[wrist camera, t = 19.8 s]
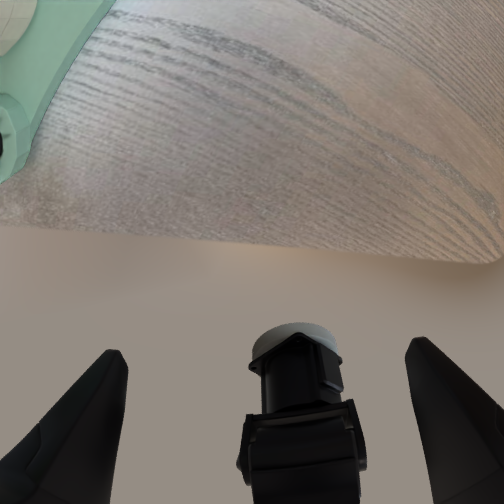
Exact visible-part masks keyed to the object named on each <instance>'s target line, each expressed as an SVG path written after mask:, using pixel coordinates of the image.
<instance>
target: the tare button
mask: <svg viewBox="0 0 504 504" xmlns="http://www.w3.org/2000/svg"><path fill="white" fill-rule="evenodd" d="M2 150H3V139H2V135H1V132H0V156H1V154H2Z"/></svg>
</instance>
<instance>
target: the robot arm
mask: <svg viewBox="0 0 504 504" xmlns="http://www.w3.org/2000/svg"><path fill="white" fill-rule="evenodd" d="M405 363H406V369H407V374H408V381H409V387H410V393H411V399H412V404H413V408H414V412H415V416H416V420H417V424H418V428H419V432H420V437H421V441H422V445H423V450H424V454H425V459H426V464H427V469H428V474H429V480H430V485H431V491H432V497H433V503H434V504H504V409H502V407H501V406H500V405H498V404H497V403H496V402H495V401H494V400H493V399H492V398H491V397H490V396H489V395H488V394H487V393H486V392H485V391H484V390H483V389H482V388H481V387H480V386H479V385H478V384H476V383H475V382H474V381H473V380H472V379H471V378H470V377H469V376H468V375H467V374H466V373H465V372H464V371H462V370H461V368H459V367H458V366H457V365H456V364H455V363H454V362H453V361H452V360H451V359H450V358H449V357H447V356H446V355H445V354H444V353H443V352H442V351H441V350H440V349H439V348H438V347H436V346H435V345H434V344H433V343H432V342H431V341H430V340H429V339H428V338H426V337H416V338H413V339H412V341H411V343H410V345H409V348H408V350H407V352H406V354H405ZM341 364H342V358H341V357H340V356H338V355H337V354H336V353H335V352H333V351H332V350H330V349H328V348H327V347H325V346H324V345H322V344H321V343H318V342H316V341H315V340H313V339H311V338H310V337H308V336H307V335H305V334H304V333H302V332H296V333H294V334H293V335H291V336H290V337H288V338H287V339H285V340H284V341H282V342H281V343H279V344H278V345H276V346H275V347H273V348H272V349H270V350H269V351H267V352H266V353H264V354H263V355H261V356H260V357H258V358H257V359H255V360H253V361H252V362H250V363H249V370H250V371H252V372H254V373H256V374H258V375H260V376H261V394H262V395H261V396H262V414H257V415H253V414H246V420H245V423H244V424H243V432H242V439H241V447H240V452H239V456H238V459H237V462H236V466H237V468H238V469H239V470H240V471H241V472H242V475H243V479H244V481H245V484H246V485H247V486H251V488H252V494H253V501H254V504H360V497H361V488H360V478H359V477H360V476H359V472H360V471H365V470H366V468H367V455H366V447H365V441H364V436H363V432H362V429H361V425H360V421H359V418H358V414H357V411H356V407H355V404H354V400H353V399H348V400H346V401H344V402H342V401H341V395H340V393H341V392H343V389H344V387H343V382H342V377H341V373H340V368H339V365H341ZM127 380H128V366H127V363H126V362H125V360H124V358H123V356H122V354H121V352H120V351H119V350H112V349H108V350H106V351H105V352H104V353H103V354H102V355H101V356H100V357H99V358H98V359H97V360H96V361H95V362H94V363H93V364H92V365H91V366H90V367H89V368H88V369H87V370H86V372H85V373H84V374H83V375H82V376H81V377H80V378H79V379H78V380H77V381H76V382H75V383H74V384H73V385H72V386H71V387H70V389H69V390H68V391H67V392H66V393H65V394H64V395H63V396H62V397H61V398H60V399H59V401H58V402H57V403H56V404H55V405H54V406H53V407H52V408H51V409H50V410H49V411H48V412H47V413H46V415H45V416H44V417H43V418H42V419H41V420H40V421H39V423H38V424H36V426H35V427H34V428H33V429H32V430H31V431H30V432H29V433H28V434H27V435H26V436H25V438H23V440H21V441H20V442H19V443H18V444H17V445H16V446H15V447H14V448H13V449H12V450H11V451H10V452H9V453H8V454H7V455H5V456H4V457H3V458H2V459H1V460H0V504H110V497H111V490H112V483H113V476H114V469H115V463H116V457H117V451H118V445H119V440H120V434H121V429H122V424H123V418H124V412H125V402H126V391H127Z"/></svg>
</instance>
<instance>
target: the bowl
mask: <svg viewBox="0 0 504 504" xmlns="http://www.w3.org/2000/svg"><path fill="white" fill-rule="evenodd" d="M37 1H38V0H0V57H2V56H3V55H5V54H6V53H7V52H8V51H9V50H10V49H11V47H13V46H14V45H15V44H16V43H17V41H18V40H19V39H20V38H21V36H22V35H23V34H24V32H25V30H26V29H27V27H28V25H29V23H30V21H31V19H32V17H33V15H34V12H35V9H36V5H37Z"/></svg>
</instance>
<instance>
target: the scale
mask: <svg viewBox="0 0 504 504" xmlns="http://www.w3.org/2000/svg"><path fill="white" fill-rule="evenodd" d="M115 1H116V0H38V1H37V5H36V9H35V12H34V15H33V17H32V19H31V21H30V23H29V25H28V27H27V29H26V30H25V32H24V34H23V35H22V36H21V38H20V39H19V40H18V41H17V43H16V44H15V45H14V46H13V47H11V49H10V50H9V51H8V52H7V53H6V54H5V55H3V56H2V57H0V132H1V135H2V139H3V150H2V154H1V156H0V184H2V183H3V182H4V181H6V180H7V179H9V178H10V177H11V176H13V175H14V174H16V173H17V172H18V171H20V170H21V169H22V168H23V167H24V165H25V162H26V160H27V157H28V155H29V152H30V150H31V142H32V140H33V137H34V135H35V133H36V131H37V128H38V126H39V124H40V122H41V120H42V118H43V116H44V114H45V112H46V110H47V108H48V106H49V104H50V102H51V100H52V98H53V96H54V94H55V92H56V90H57V89H58V87H59V85H60V83H61V81H62V80H63V78H64V76H65V74H66V73H67V71H68V69H69V68H70V66H71V64H72V63H73V61H74V59H75V58H76V56H77V55H78V53H79V51H80V50H81V48H82V47H83V45H84V44H85V42H86V41H87V39H88V38H89V36H90V35H91V34H92V32H93V31H94V29H95V28H96V26H97V25H98V24H99V22H100V21H101V20H102V18H103V17H104V16H105V14H106V13H107V12H108V10H109V9H110V8H111V6H112V5H113V4H114V3H115Z"/></svg>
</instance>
